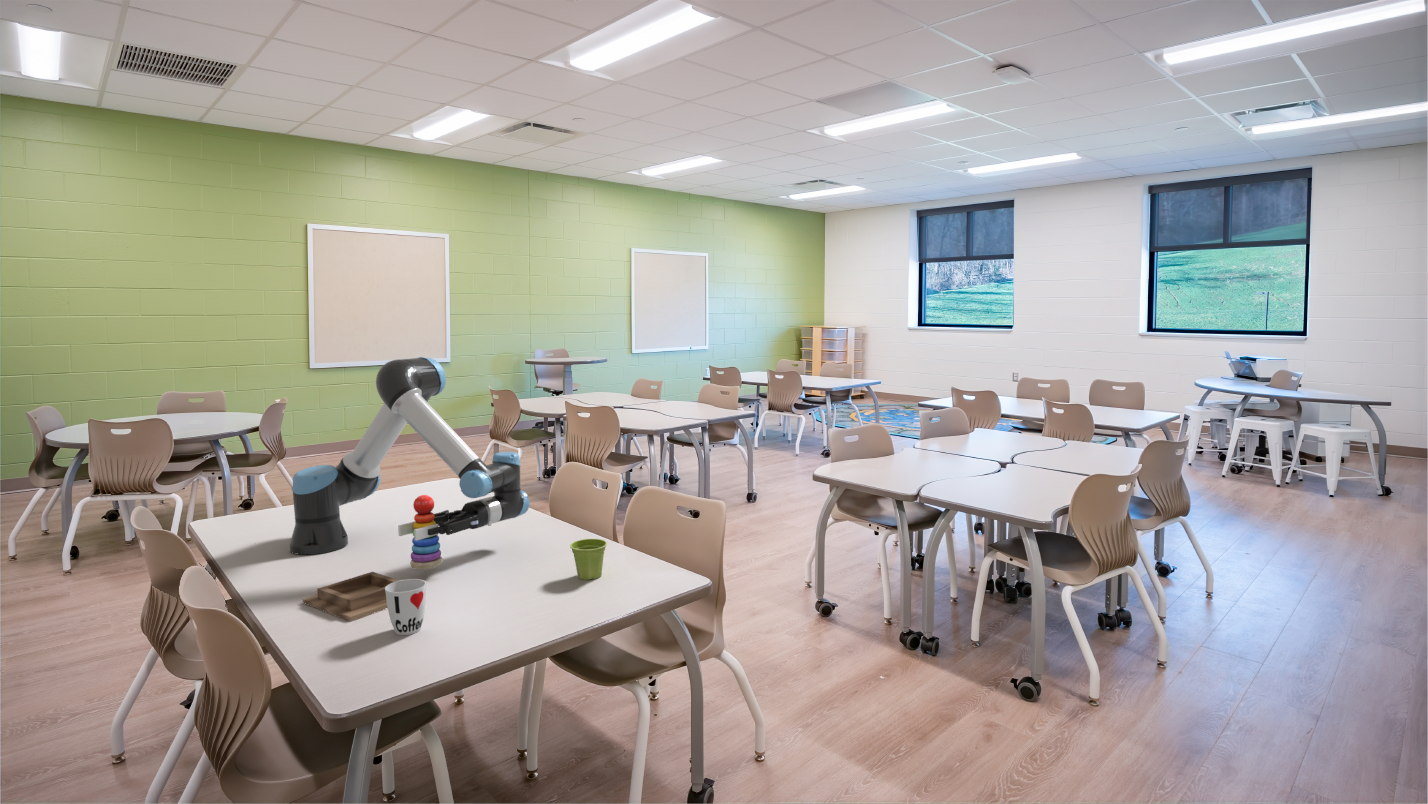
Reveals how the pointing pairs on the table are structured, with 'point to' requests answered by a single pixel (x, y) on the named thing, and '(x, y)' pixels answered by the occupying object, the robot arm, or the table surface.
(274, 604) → the table surface
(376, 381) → the robot arm
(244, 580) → the table surface
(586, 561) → the plant pot
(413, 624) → the cup
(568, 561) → the table surface
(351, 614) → the walnut jig
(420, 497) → the stacking toy
